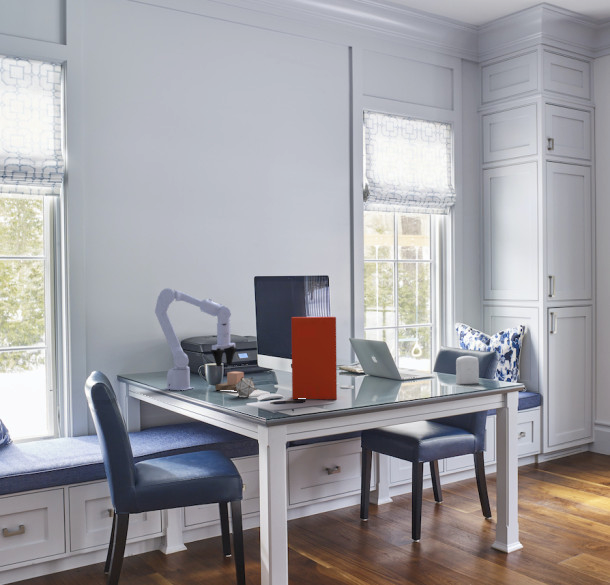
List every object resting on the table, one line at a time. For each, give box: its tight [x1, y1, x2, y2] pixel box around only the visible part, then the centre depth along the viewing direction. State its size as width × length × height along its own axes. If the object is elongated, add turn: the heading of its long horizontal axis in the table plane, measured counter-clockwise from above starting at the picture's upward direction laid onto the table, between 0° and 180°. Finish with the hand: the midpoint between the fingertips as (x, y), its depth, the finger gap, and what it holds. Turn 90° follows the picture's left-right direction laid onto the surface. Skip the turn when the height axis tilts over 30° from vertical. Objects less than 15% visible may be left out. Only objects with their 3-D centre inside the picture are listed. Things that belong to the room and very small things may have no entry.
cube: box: [226, 371, 245, 385], centre depth 311 cm, size 5×5×5 cm
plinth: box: [214, 382, 256, 391], centre depth 311 cm, size 12×12×2 cm
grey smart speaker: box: [455, 355, 480, 385], centre depth 324 cm, size 10×4×12 cm, turn 101°
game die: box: [234, 376, 258, 398], centre depth 292 cm, size 9×8×10 cm
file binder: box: [291, 316, 338, 400], centre depth 287 cm, size 8×17×32 cm, turn 91°
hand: (224, 365), depth 318 cm, fingers open, 7 cm apart
